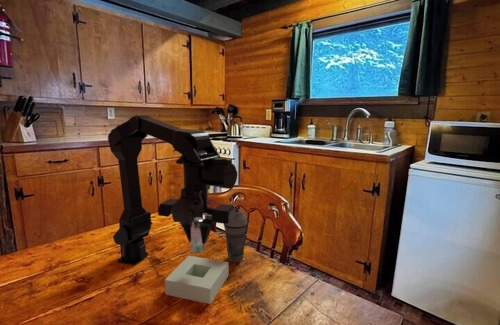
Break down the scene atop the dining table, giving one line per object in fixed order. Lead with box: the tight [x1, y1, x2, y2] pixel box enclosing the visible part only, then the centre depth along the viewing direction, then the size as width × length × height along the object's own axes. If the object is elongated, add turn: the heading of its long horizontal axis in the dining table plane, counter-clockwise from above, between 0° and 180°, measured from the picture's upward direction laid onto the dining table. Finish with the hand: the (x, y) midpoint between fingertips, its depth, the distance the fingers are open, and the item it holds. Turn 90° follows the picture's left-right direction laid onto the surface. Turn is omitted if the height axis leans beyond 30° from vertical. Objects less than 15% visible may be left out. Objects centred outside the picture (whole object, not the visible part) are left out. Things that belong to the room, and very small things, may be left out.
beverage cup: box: [223, 195, 249, 263], centre depth 83 cm, size 7×7×20 cm
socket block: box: [164, 255, 229, 305], centre depth 71 cm, size 12×12×4 cm
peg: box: [190, 217, 206, 254], centre depth 69 cm, size 4×4×8 cm
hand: (197, 242), depth 70 cm, fingers closed on peg, 3 cm apart
